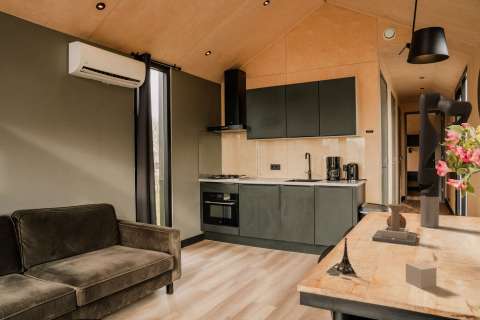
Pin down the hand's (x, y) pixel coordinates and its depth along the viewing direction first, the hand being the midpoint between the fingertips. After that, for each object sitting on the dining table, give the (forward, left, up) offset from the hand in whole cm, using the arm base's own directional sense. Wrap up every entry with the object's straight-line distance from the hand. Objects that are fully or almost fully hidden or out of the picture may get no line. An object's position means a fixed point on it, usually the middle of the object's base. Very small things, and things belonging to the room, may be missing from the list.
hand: (451, 178), depth 159 cm
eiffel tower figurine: (+69, -34, -30) cm, 83 cm away
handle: (+10, -23, -28) cm, 38 cm away
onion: (-8, -24, -30) cm, 39 cm away
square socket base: (+10, -23, -30) cm, 39 cm away
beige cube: (+69, -10, -30) cm, 76 cm away
